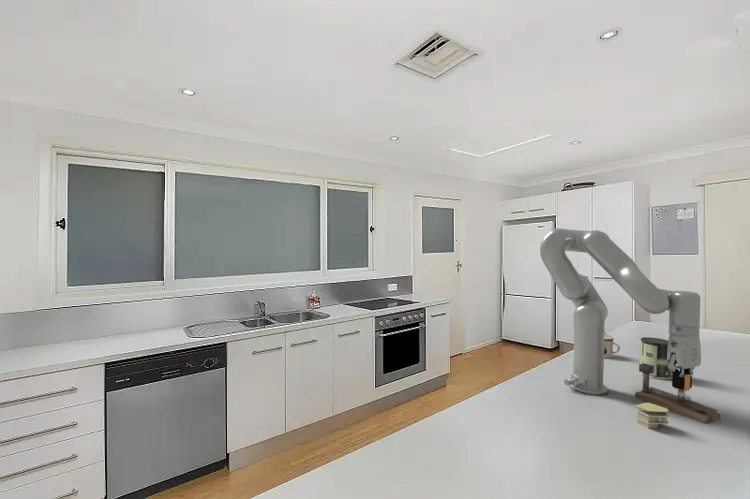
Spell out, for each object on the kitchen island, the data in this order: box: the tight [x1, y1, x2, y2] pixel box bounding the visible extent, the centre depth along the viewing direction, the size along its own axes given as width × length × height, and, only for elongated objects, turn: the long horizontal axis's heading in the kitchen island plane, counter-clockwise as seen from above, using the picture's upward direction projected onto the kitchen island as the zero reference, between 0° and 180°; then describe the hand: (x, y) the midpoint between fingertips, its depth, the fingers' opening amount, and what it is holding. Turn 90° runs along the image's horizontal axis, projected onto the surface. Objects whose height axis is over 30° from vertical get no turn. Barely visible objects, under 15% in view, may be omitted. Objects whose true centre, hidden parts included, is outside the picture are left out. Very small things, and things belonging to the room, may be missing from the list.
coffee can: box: [639, 336, 672, 380], centre depth 149 cm, size 10×10×14 cm
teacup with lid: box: [604, 330, 621, 359], centre depth 173 cm, size 12×9×12 cm
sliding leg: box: [673, 373, 691, 404], centre depth 118 cm, size 5×3×10 cm, turn 113°
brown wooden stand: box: [634, 363, 721, 424], centre depth 120 cm, size 8×20×11 cm, turn 23°
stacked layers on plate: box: [635, 402, 669, 429], centre depth 107 cm, size 10×9×6 cm
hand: (681, 386), depth 118 cm, fingers closed on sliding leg, 3 cm apart
